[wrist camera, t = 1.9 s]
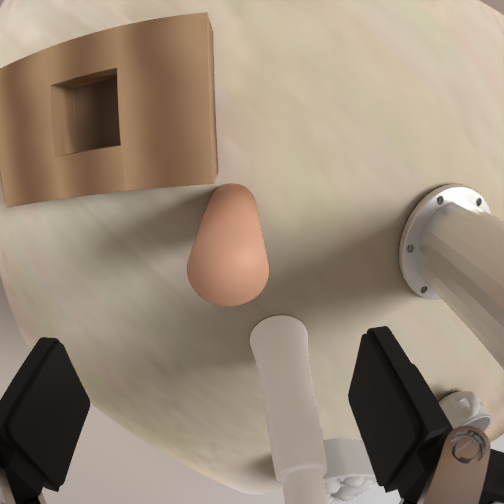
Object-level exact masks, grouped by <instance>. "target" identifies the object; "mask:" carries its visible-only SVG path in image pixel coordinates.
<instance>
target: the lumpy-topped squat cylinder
mask: <svg viewBox="0 0 504 504" xmlns="http://www.w3.org/2000/svg"><path fill="white" fill-rule="evenodd" d="M323 442H324V448H325V455H326V461H327V473H326V474H325V475H324V476H323V479H324V484H325V489H326V493H327V498H328V503H329V504H331V503H332V501H338V500H342V501H348V500H351V499H353V498H354V497H356V496H357V495H359V494H361V493H363V492H364V491H366V490H368V489H369V488H370V486H371V485H372V484H374V483H376V482H377V481H376V478H375V475H374V472H373V469H372V466H371V463H370V460H369V457H368V454H367V451H366V448H365V445H364V442H363V441H358V440H352V439H330V440H324V441H323Z"/></svg>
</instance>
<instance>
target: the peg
mask: <svg viewBox="0 0 504 504" xmlns="http://www.w3.org/2000/svg"><path fill="white" fill-rule="evenodd" d="M187 274H188V278H189V281H190V284H191V286H192V287H193V289H194V290H195V291H196V293H197V294H198V295H199V296H201V297H202V298H203V299H205V300H206V301H208V302H210V303H213V304H216V305H220V306H238V305H242V304H245V303H247V302H249V301H251V300H252V299H254V298H255V297H257V296H258V295H259V294H260V293H261V291H262V290H263V289H264V287H265V285H266V283H267V280H268V276H269V264H268V259H267V254H266V249H265V245H264V240H263V235H262V230H261V225H260V221H259V216H258V211H257V206H256V202H255V198H254V196H253V194H252V193H251V192H250V191H249V190H248V189H247V188H246V187H244V186H242V185H239V184H225V185H223V186H221V187H219V188H217V189H216V190H215V191H214V192H213V194H212V195H211V197H210V199H209V202H208V205H207V208H206V210H205V213H204V216H203V219H202V222H201V225H200V227H199V230H198V233H197V236H196V239H195V242H194V245H193V248H192V251H191V254H190V257H189V260H188V264H187Z"/></svg>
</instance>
